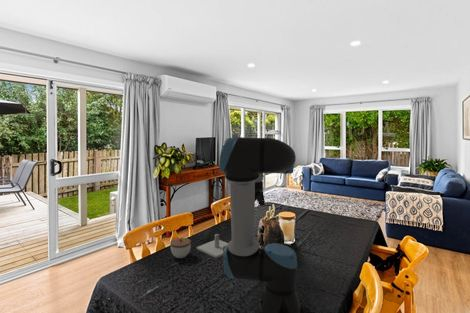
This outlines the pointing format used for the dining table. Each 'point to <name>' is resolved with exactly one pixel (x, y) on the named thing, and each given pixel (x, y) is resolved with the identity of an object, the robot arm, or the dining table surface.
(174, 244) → the lidded jar
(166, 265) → the dining table surface
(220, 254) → the post block
